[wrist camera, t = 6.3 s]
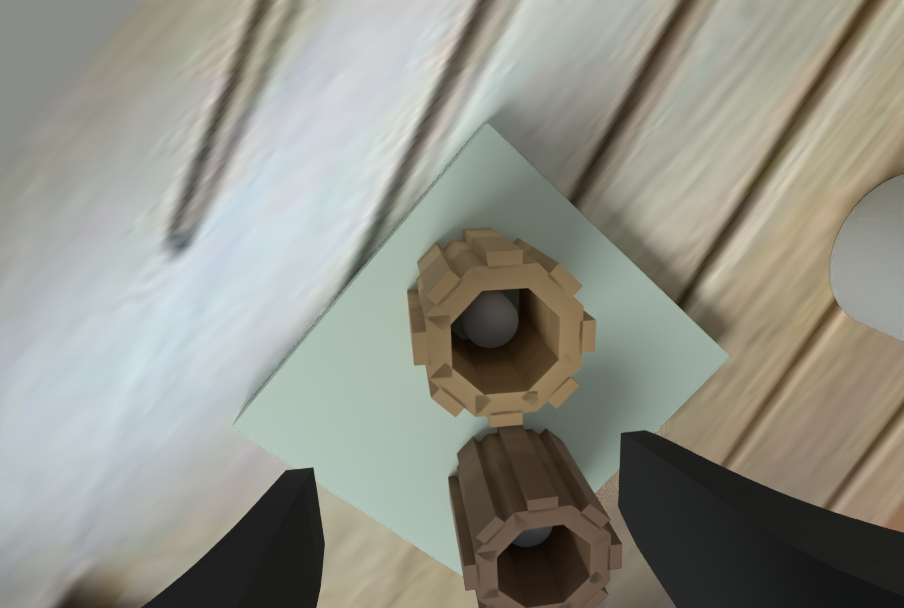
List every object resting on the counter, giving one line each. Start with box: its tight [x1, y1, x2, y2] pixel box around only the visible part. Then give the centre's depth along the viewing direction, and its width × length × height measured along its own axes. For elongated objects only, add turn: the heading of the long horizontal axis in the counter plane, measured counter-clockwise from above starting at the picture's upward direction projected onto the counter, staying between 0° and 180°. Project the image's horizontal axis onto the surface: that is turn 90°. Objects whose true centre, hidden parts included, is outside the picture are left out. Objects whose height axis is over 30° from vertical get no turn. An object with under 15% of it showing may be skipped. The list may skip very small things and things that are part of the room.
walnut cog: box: [448, 425, 622, 608], centre depth 20 cm, size 5×5×5 cm
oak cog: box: [407, 227, 596, 427], centre depth 17 cm, size 5×5×5 cm
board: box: [231, 123, 730, 576], centre depth 20 cm, size 14×15×4 cm
